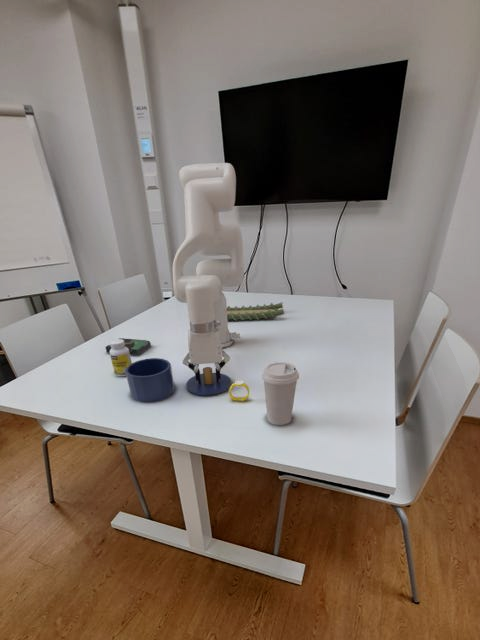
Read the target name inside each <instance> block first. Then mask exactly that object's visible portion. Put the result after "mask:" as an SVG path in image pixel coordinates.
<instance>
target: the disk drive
mask: <svg viewBox="0 0 480 640" xmlns="http://www.w3.org/2000/svg"><path fill="white" fill-rule="evenodd" d="M118 339H122V340H124V343H125V345H124V346H125V347H127V348H128V349H129V353H130V356H140V355H141V354H143V353H144V352H146V350H148V349H150V348H151V346H152V343H151V341H150V340H147V339H136V338H123V337H121V338H120V337H119V338H118ZM111 349H112V347H111V346H110V344H108V345H106V346H105V351H106V353H108V354H110V350H111Z"/></svg>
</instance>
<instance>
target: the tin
mask: <svg viewBox="0 0 480 640" xmlns="http://www.w3.org/2000/svg"><path fill="white" fill-rule="evenodd" d="M125 372H126V376H125V377H126V380H127V384H128V389H129V393H130V396H131V398H132V399H134V400H135V401H137V402H141V403H153V402H160V401H162V400H165V399H167V398H169V397H170V396H171V395H173V393H174V392H175V381H174V375H173V370H172V364H171V362H170V361H169V360H167V359H164V358H158V357H153V358H144V359H140V360H136V361H134V362H132V363H131V364H130V365H129V366H127V368H126V370H125Z"/></svg>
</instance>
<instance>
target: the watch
mask: <svg viewBox="0 0 480 640" xmlns="http://www.w3.org/2000/svg"><path fill="white" fill-rule="evenodd" d="M233 387H237V388H240V387H243V388H245V389H246V391H247V394H246V396H244V397H235V396H234V395H233V394H232V391H231V390H232V388H233ZM228 395H229V397H230V399H232V400H233V401H238V402H244V401H247V399H248V398H249V396H250V387H249V386H248V385H247V384H246V383H245V382H244V380H242V379H241V380H239V379H238V380H234V383H231V386H230V387H229V388H228Z"/></svg>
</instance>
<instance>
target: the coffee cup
mask: <svg viewBox="0 0 480 640" xmlns="http://www.w3.org/2000/svg"><path fill="white" fill-rule="evenodd" d="M260 377H261V379H262V381H263V389H264V397H265V408H266V417H267V418H266V419H267V422H269V423H270V424H272V425H274V426H285V425H288V424H289V423H290V422H291V421H292V417H293V410H294V402H295V395H296V390H297V381H298V380H299V379H300V374H299V371H298V370H297V367H296V365H294V364H292V363H290V362H285V361H278V362H277V361H275V362H271V363H269V364H267V365H266V366H265V367H264V369H263V370H262V373H261V375H260Z"/></svg>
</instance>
